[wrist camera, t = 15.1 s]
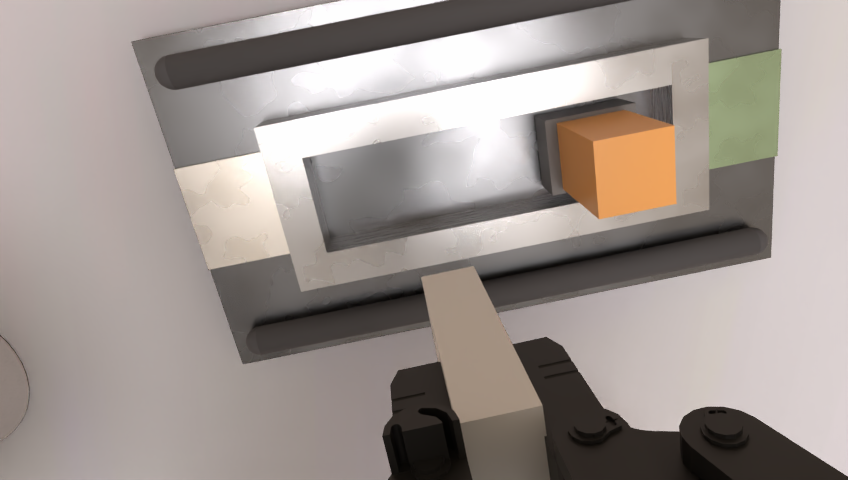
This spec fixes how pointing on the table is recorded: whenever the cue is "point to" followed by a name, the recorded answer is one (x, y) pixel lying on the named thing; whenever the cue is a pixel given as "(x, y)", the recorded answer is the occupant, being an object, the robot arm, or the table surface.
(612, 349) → the table surface
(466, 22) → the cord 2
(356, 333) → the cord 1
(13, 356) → the lamp
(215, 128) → the panel
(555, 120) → the toggle
